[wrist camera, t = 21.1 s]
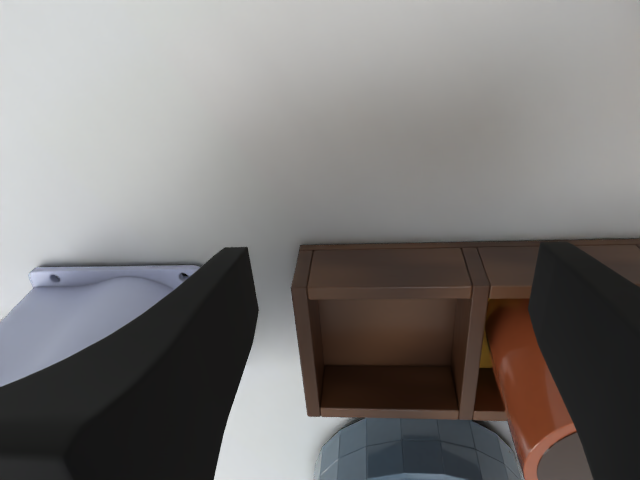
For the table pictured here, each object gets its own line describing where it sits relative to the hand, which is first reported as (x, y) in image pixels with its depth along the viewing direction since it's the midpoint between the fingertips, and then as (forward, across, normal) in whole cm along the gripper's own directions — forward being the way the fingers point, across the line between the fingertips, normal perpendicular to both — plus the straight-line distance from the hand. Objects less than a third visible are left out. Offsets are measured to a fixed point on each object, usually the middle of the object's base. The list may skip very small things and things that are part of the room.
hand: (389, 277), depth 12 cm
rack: (+10, -4, +9) cm, 14 cm away
